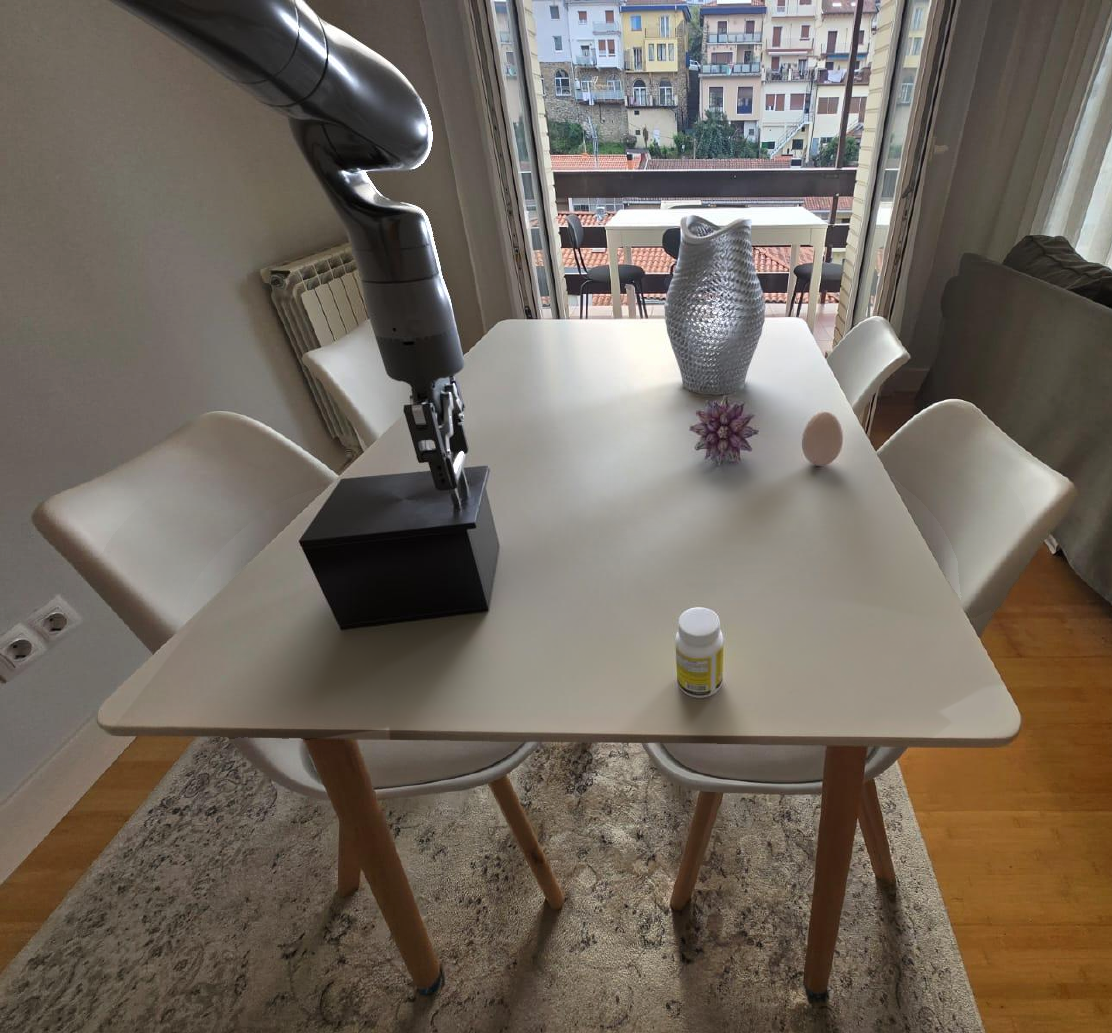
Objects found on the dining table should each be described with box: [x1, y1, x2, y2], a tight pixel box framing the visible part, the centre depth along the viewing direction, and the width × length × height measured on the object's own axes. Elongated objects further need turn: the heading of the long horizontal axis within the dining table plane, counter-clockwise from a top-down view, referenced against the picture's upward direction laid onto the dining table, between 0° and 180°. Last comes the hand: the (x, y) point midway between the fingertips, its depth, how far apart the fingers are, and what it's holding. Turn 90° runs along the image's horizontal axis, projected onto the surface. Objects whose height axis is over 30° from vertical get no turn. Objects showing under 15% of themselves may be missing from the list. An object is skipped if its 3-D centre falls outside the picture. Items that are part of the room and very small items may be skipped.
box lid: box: [298, 450, 491, 548], centre depth 64 cm, size 18×14×5 cm
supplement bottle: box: [674, 606, 725, 699], centre depth 56 cm, size 5×5×8 cm
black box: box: [301, 488, 501, 631], centre depth 69 cm, size 17×14×12 cm
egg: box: [801, 410, 844, 467], centre depth 96 cm, size 7×7×10 cm
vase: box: [663, 214, 766, 395], centre depth 124 cm, size 22×22×35 cm
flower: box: [688, 395, 760, 466], centre depth 97 cm, size 12×12×12 cm
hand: (454, 470), depth 64 cm, fingers open, 8 cm apart
